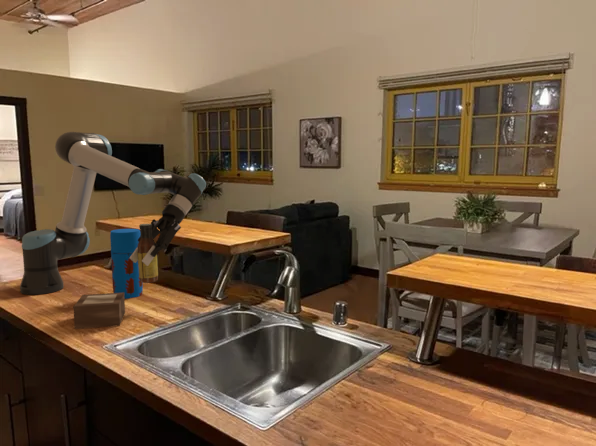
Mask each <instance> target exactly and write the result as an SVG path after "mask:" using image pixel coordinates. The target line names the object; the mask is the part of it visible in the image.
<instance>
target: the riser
mask: <svg viewBox="0 0 596 446" xmlns="http://www.w3.org/2000/svg"><path fill="white" fill-rule="evenodd" d="M125 306H126V301H125V298H124V292H123V293H113V292H110V293H92V294H90V293H89V294H82V295H81V296H80V298H79V299H78V300H77V301H76V303H75V304H74V305H73V307H72V308H73V322H74V325H73V326H74V330H80V329H92V328H105V327H107V328H108V327H119V326H121V324H122V322H123V319H124V317H125V314H126V307H125ZM123 316H124V317H123Z"/></svg>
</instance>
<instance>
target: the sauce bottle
mask: <svg viewBox="0 0 596 446" xmlns="http://www.w3.org/2000/svg"><path fill="white" fill-rule="evenodd" d="M138 229H139V230H140V234H141V235H140V237H141V238H140V241H139V243H138V266H139V278H140V282H143V283H144V284H152V283H155V282H158V279H159V270H158V269H159V267H158V254H157V255H156V256H155V257H154V258H153V260H152V261H151V262H150V264H149V265H148V266H147V265H145V264H144V263H143V262H142V260H143V258H144V257H145V255H146V254H147V253H148V251H149V250H150V249H151V247H152V246H153V245H154V244H155V243H156V242H155V239H153V237H152V224H151V223H141V224H139V227H138ZM154 246H155V245H154ZM155 247H156V246H155Z"/></svg>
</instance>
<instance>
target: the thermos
mask: <svg viewBox="0 0 596 446" xmlns="http://www.w3.org/2000/svg"><path fill="white" fill-rule="evenodd" d="M140 235H141V234H140V228H120V229H119V228H118V229H113V230H110V236H109V239H110V258H111V274H112V275H111V277H112V279H111V281H112V293H123V292H124V298H125V299H127V300H128V299H133V298H139V297H140V296H142V295H143V287H144V286H143V285H144V284H143V282H140V278H139V266H138V261H137V262H136V263H134V262H133V261H132V260H131V259H130V256H131V255H132V254H133V252H134V251H135V249H136V248H137V247H138V243H139V241H138V239H139V237H140Z"/></svg>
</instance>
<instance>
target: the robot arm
mask: <svg viewBox="0 0 596 446" xmlns="http://www.w3.org/2000/svg"><path fill="white" fill-rule="evenodd" d="M54 148H55V152H56V154H57V156H58V157H59V158H60V159H61V160H62V161H64V162H66V163H68V164H70V165H72V167H73V169H72V174H71V179H70V183H69V187H68V192H67V195H66V200H65V204H64V209H63V213H62V218H61V221H59V222H57V223H56V225H55V230H54V229H50V228H49V229H39V230H34V231H29V232H27V233H26V234H25V233H24V234H23V236H22V238H21V248H22V249H21V250H22V257H23V258H22V259H23V262H22V263H23V275H22V278H21V282H20V286H19V290H20V294H23V295H44V294H52V293H55V292H57V291H58V292H59V291H61V290H63V289H64V287H65V286H64V280H63V277H62V276H61V273H60V271H59V269H58V261H59V260H64V259H68V258H75V257H78V256H79V255H82V254H84V253H86V251H87V250H88V248H89V246H90V242H91V240H90V239H91V238H90V237H89V236H90V235H89V232H88V229H87V227H86V226H85V221H86V217H87V213H88V210H89V205H90V201H91V197H92V193H93V189H94V185H95V181H96V176H97V174H99V175H101V176H104V177H106V178H108V179H110V180H113V181H115V182H117V183H120V184H122V185H123V186H125V187H126V186H127V187H128V188H129V189H130V190H131V192H132V193H134V194H135V195H143V196H145V195H151V194H166V193H169V194H171V195H173V196H172V198H171V199H170V200H169V202H168V204H166V206H165V207H164V208H163V210H162V212H161V214H162V215H161V217H160V218H159V219H157V220H156V219H152V220H151V222H150V224H152V237H153V240H155V239H156V237H157V236H158V235H159V236H158V238H157V240H156V242H155V244H154V245H155V246H156V247H155V246H154V245H153V246H152V247H151V249H150V250H149V251H148V253H147V254H146V255H145V257H144V258H143V260H142V262H143V263H144V264H145V265H147V266H148V265H149V264H150V262H151V261H152V260H153V258H154V257H155V256H156V255H157V256H158V253H159V252H160V251H162V250H167V249H168V247H169V245H170V244H171V243H172V241H173V239H174V238H175V236H176V234H177V233H178V232H179V231H180V230H181V229H182V227H181V226H180V224H181V223H182V221H183V220H184V219H185V217H186V216H187V214H189V212H190V210H191V209H192V207H193V206H194V205H195V203H197V201H198V199H199V197H201V195H202V194H203V193H204V190H205V189H206V187H207V183H206V180H205V179H204V178H203V176H201V175H199V174H198V173H190V174H189V175H188V176H187V177H186V176H181V175H180V174H178V173H174V172H171V171H169V170H167V169H166V170H165V169H163V168H159V169H156V170H155V171H153V172H152V171H151V172H149V171H147V170H144V169H142V168H139V167H137V166H135V165H134V164H133V165H132V164H131V163H128V162H126V161H125V160H121V159H119V158H116V157H115V156H112V154H113V150H112V145H111V143H110V141H109V140H108V138H106V136H104V135H103V134H97V133H95V132H80V131H78V132H77V131H68V132H67V131H66V132H64V133H62V134H61V135H60V136H58V138H57V139H56V141H55V146H54ZM140 238H141V237H139V239H138V241H140ZM130 259H131V260H132V261H133V262H134V263H136V262H137V261H138V247H137V248H136V249H135V251H134V252H133V254H132V255H131V256H130Z"/></svg>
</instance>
